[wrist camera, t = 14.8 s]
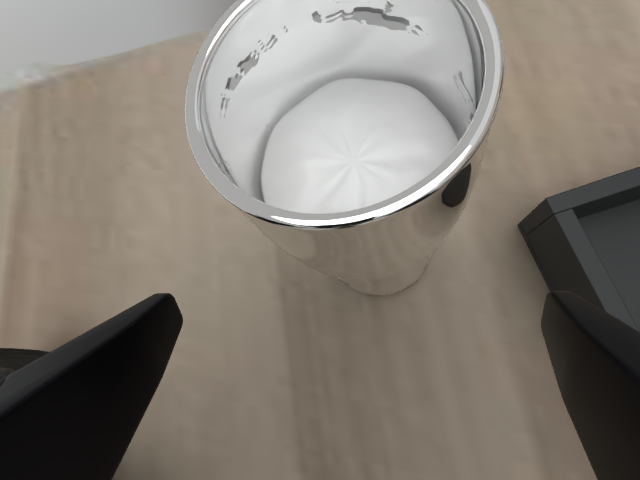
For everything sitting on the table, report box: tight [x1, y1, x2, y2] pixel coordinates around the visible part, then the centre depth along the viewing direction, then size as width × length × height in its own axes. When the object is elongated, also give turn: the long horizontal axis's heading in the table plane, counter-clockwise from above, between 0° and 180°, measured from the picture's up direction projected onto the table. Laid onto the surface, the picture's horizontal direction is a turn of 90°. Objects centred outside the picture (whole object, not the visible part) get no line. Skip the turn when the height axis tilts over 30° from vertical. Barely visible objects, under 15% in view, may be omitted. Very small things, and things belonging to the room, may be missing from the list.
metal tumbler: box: [185, 0, 505, 296], centre depth 14 cm, size 7×7×15 cm
